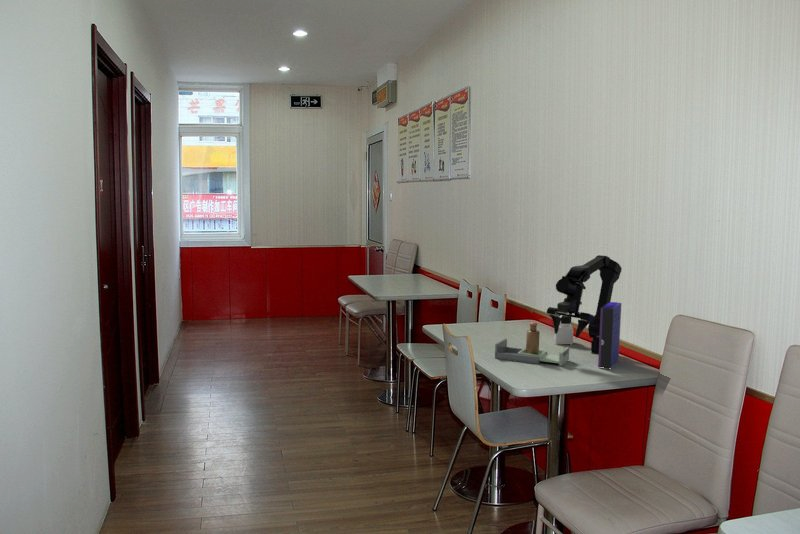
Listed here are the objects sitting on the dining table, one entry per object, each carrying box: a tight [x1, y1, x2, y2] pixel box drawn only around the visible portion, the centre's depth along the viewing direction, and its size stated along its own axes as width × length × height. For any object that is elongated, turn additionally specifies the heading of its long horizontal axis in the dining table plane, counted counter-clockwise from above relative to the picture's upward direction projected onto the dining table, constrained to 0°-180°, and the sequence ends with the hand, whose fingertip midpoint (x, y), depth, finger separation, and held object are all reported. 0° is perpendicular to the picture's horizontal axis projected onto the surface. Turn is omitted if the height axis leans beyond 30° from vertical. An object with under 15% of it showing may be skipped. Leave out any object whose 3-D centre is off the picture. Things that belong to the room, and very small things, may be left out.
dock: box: [494, 338, 548, 365], centre depth 283 cm, size 18×12×6 cm, turn 62°
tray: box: [518, 346, 570, 367], centre depth 279 cm, size 19×12×5 cm, turn 62°
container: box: [553, 315, 574, 346], centre depth 312 cm, size 8×8×13 cm
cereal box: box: [597, 301, 622, 369], centre depth 274 cm, size 17×5×24 cm, turn 152°
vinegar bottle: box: [525, 321, 540, 355], centre depth 280 cm, size 5×5×13 cm
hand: (566, 335), depth 275 cm, fingers open, 9 cm apart
